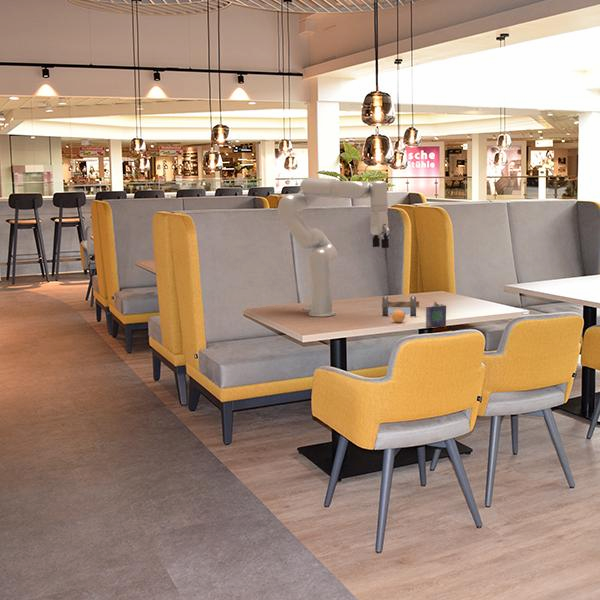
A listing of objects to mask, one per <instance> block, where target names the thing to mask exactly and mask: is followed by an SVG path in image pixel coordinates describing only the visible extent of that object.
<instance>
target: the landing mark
mask: <svg viewBox="0 0 600 600" xmlns="http://www.w3.org/2000/svg"><path fill="white" fill-rule="evenodd" d="M395 310H401V311H403V312H404V313H410V308H402V307H388V313H393V312H394V311H395Z"/></svg>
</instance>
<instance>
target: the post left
mask: <svg viewBox="0 0 600 600" xmlns="http://www.w3.org/2000/svg"><path fill="white" fill-rule="evenodd" d="M381 297H382V301H381V307H382V310H381V311H382V315H381V316H382V317H383V316H387V317H389V314H388V308H389V307H388V301H389V296H386V295H385V296H381Z"/></svg>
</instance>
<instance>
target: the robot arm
mask: <svg viewBox="0 0 600 600" xmlns="http://www.w3.org/2000/svg"><path fill="white" fill-rule="evenodd" d="M299 189H300V190H299V191H298V192H297V193H288V194H285V195H283V196H282V197H281V199H279V202H278V206H277V213H278V216H279V219H280V221H281V222H282V224H283V225H284V226H285V227H286V229H287V230H288V231H289V233H290V235H292V236H293V239H294V240H295V241H296V243H298V245H299V246H300V247H301V248H302V249H303V250H312V251H311V252H310V254H309V258H308V263H309V268H310V278H311V279H310V282H311V283H310V284H311V288H310V289H311V305H309V306H307V305H306V306H305V305H302V311H308V316H311V317H318V318H319V317H320V318H321V317H333V316H335V315H336V311H334V310H333V293H332V291H333V288H332V287H333V285H332V283H333V282H332V271H331V266H333V265H334V264H336V263H337V261H338V258H339V255H338V251H337V249H336V248H335V246H334V245H333V243H332V242H331V241H330V240H329V239H328V237H327V236H326V235H325V233H324V232H323V231H322V230H320V229H318V228H316V227H313V228H311V227H310V226H309V225H308V224H307V222H306V221H305V220H304V219H303V217H302V216H300V215H299V214H298V213H297V212H303V211H305V210H306V209H307V208H308V207H310V206H311V205H312V204H313V203H314V202H315V201H316V200H317V199H318V198H332V199H338V198H340V199H355V200H357V199H359V200H360V199H370V233H371V238H372V239H371V240H372V248H380V246H381V249H388V248H389V246H390V245H389V244H390V243H389V238H390V228H389V218H388V211H389V210H388V209H389V207H388V205H389V204H388V183H387V182H386V181H384V180H373V181H359V180H358V181H351V180H349V181H348V180H346V181H345V180H338V179H336V178H325V177H324V178H320V177H306V178H304V179H302V181H301V182H300V186H299ZM380 236H381V240H380ZM380 241H381V243H380ZM380 244H381V245H380Z"/></svg>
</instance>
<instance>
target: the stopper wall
mask: <svg viewBox="0 0 600 600" xmlns="http://www.w3.org/2000/svg"><path fill="white" fill-rule="evenodd" d="M388 308H410V300H407V301H406V300H404V301H402V300H400V301H397V300H396V301H393V300H392V301H391V300H388ZM416 308H420V301H417V300H416Z"/></svg>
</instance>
